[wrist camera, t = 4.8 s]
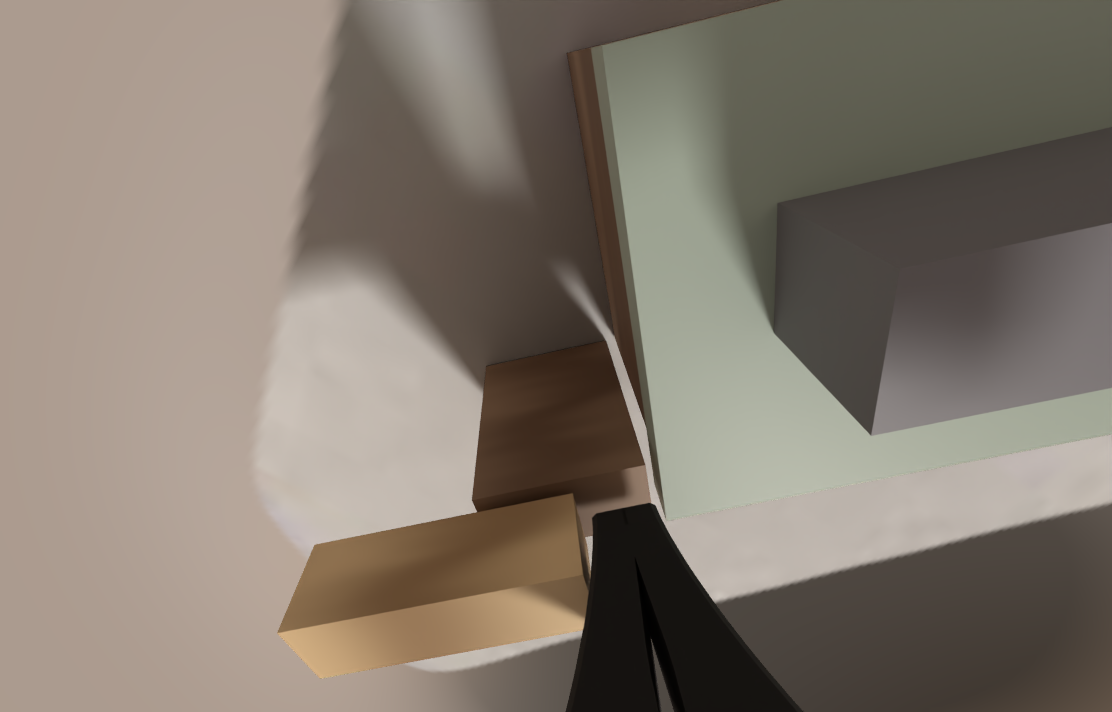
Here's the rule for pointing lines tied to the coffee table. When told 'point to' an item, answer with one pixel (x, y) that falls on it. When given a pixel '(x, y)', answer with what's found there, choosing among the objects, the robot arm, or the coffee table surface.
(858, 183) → the toolbox lid
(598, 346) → the toolbox
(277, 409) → the coffee table surface
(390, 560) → the wooden block
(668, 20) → the coffee table surface
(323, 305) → the coffee table surface
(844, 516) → the coffee table surface
